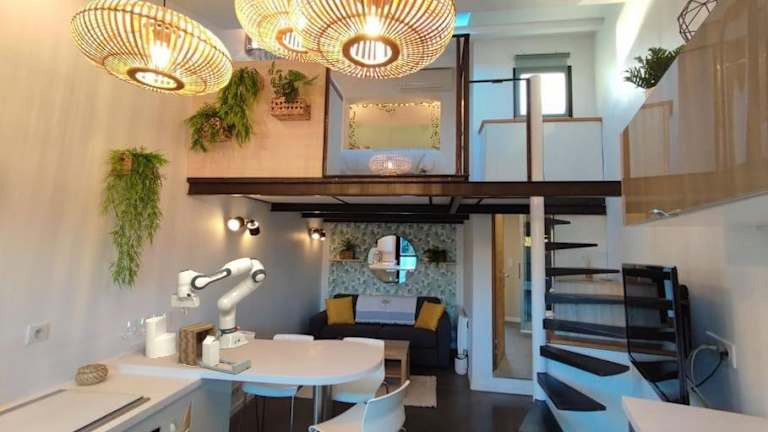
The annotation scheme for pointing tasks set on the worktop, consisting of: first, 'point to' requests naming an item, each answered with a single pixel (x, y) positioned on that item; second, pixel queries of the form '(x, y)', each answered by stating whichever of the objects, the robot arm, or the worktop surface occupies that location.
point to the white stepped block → (159, 338)
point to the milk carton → (211, 351)
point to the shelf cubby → (193, 342)
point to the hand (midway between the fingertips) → (185, 313)
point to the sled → (235, 368)
